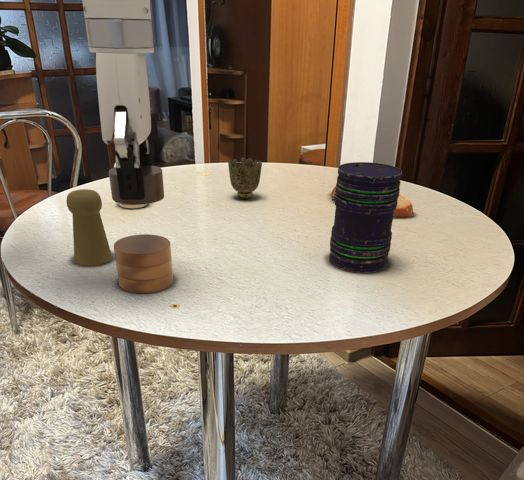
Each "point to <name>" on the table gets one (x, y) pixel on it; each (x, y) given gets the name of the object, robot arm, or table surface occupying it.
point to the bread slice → (402, 208)
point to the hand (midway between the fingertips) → (137, 189)
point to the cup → (245, 176)
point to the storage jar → (364, 216)
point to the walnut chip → (151, 185)
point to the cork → (88, 228)
